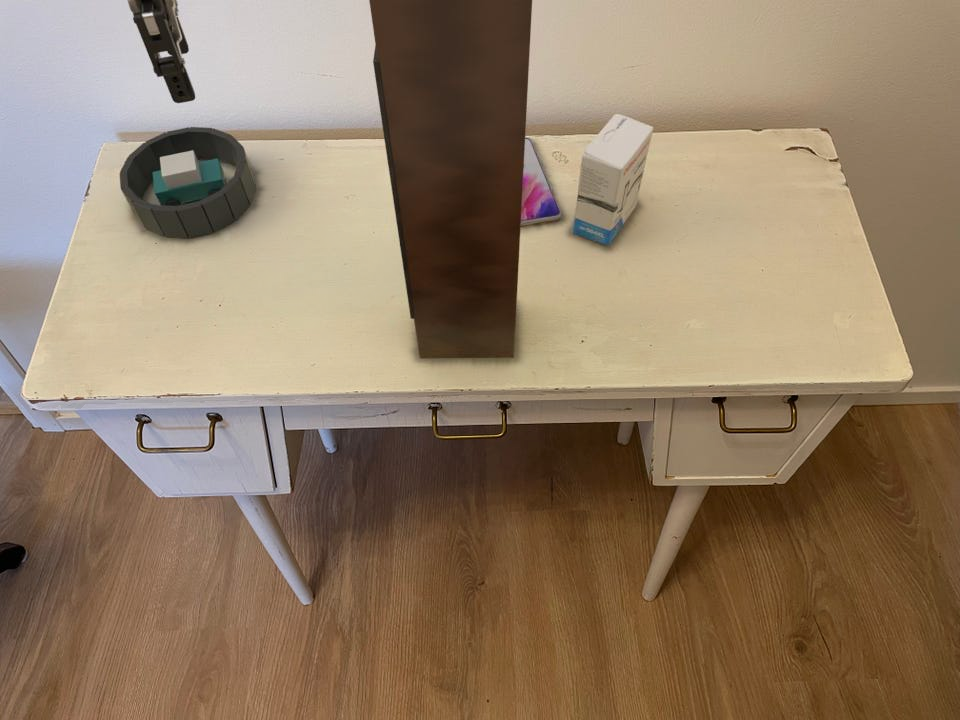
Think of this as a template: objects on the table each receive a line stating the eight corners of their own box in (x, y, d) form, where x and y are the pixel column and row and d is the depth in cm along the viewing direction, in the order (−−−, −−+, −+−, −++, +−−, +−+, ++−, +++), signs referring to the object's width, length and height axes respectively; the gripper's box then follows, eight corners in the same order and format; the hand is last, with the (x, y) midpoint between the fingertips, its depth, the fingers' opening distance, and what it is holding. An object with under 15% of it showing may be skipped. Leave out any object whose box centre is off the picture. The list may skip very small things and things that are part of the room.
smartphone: (530, 135, 95) (563, 215, 87) (530, 141, 96) (562, 220, 88) (476, 143, 94) (504, 224, 86) (476, 148, 95) (504, 229, 87)
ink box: (607, 248, 85) (622, 170, 76) (570, 232, 87) (580, 154, 77) (638, 204, 89) (656, 125, 80) (602, 189, 91) (615, 110, 81)
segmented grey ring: (138, 250, 86) (122, 223, 82) (132, 169, 94) (117, 141, 90) (263, 221, 88) (253, 194, 85) (246, 145, 96) (237, 117, 92)
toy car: (164, 215, 89) (148, 182, 85) (161, 189, 92) (145, 156, 87) (230, 200, 90) (217, 168, 86) (225, 175, 93) (212, 142, 89)
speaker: (416, 359, 77) (361, -14, 44) (419, 305, 81) (371, -73, 48) (513, 358, 77) (533, -15, 44) (512, 305, 81) (528, -75, 48)
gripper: (73, -122, 66) (142, 44, 79) (71, -46, 58) (148, 124, 71) (158, -133, 67) (212, 32, 80) (168, -59, 59) (225, 110, 72)
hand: (182, 75), depth 76 cm, fingers open, 8 cm apart
